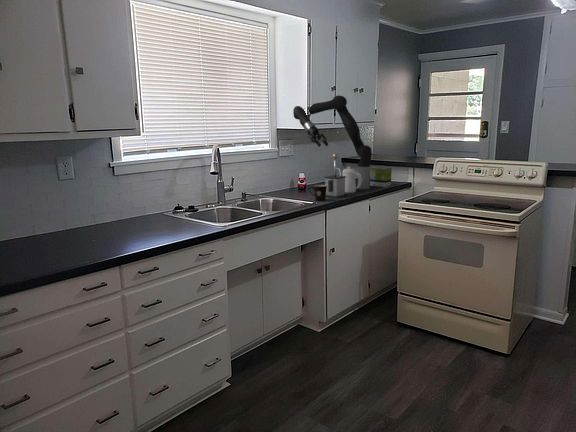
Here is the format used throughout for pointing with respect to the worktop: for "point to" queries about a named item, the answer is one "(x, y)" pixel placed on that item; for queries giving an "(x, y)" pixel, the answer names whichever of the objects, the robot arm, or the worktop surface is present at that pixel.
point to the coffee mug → (319, 192)
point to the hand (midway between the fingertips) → (323, 145)
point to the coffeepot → (350, 180)
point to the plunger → (335, 156)
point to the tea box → (380, 176)
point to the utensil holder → (335, 186)
